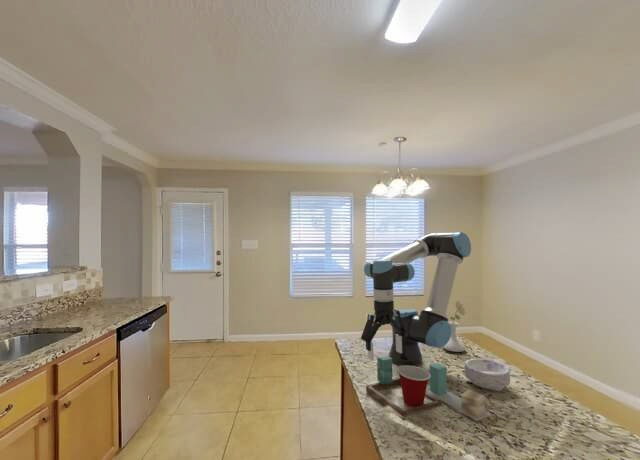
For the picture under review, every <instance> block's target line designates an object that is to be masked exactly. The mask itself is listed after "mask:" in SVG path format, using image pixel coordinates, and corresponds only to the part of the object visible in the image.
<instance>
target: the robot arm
mask: <svg viewBox="0 0 640 460" xmlns="http://www.w3.org/2000/svg"><path fill="white" fill-rule="evenodd" d="M471 252H472V244H471V240H470V238H469V236H468V235H467V234H466V233H465V232H462V231H460V232H459V231H453V232H452V231H450V232H433V233H428V234H425V235H424V236H422V237H418V239H415V240H414V241H412V243H411V244H409V245H407V246H405V247H403V248H401V249H398V250H397V251H395V252H393V253H391V254H388V255H387V256H385V257H383V258H380V259H375V260H370V261H367V262H366V263H365V264H364V267H363V271H364V275H365V276H366V277H367V278H370V279H373V280H372V282H373V283H372V284H373V299H374V300H373V309H374V313H373V314H371V313H367V320H366V323H365V326H364V328H363V331H362V334H361V335H360V336H361V337H360V340H362V341H364V342H365V350H366V351H367V359H369V360H370V361H375V359H374V357H375V356H374V354H375V353H374V341H373V339H374V338H375V335H376V334H377V332H378V330H379V329H380V328H381V327H382V326H385V325H390V326H391V328H392V333H391V334H392V344H391V345H390V346H391V347H390V349H389V353H388V357H390V358H392V363H393V364H395V365H396V364H397V365H399V366H404V365H410V366H418V365H422V364H423V355H422V353H421V349H420V346H419V345H420V344H423V345H426V346H428V347H432V348H437V349H440V348H443V346H445V345H446V344H447V343H448V341H449V340H450V337H451V332H452V331H451V325H450V324H449V323H448V322H449V318H448V316H447V311H448V306H449V303H450V298H451V294H452V290H453V286H454V282H455V278H456V274H457V270H458V266H459V265H461V264H463V261H464V258H468V257H470V255H471ZM430 256H434V257H436V258H437V259H438V261H437V265H436V268H435V272H434V276H433V280H432V282H431V283H432V284H431V287H430V291H429V296H428V299H427V301H426V306H425V308H423V309H421V310H420V314H419V312H418V310H417V309H409V308H407V309H395V303H394V284H396V283H401V282H402V283H403V282H404V283H405V282H409V281H411V280H413V278H414V277H415V272H416V271H415V268H414V266H413V265H412V262H414V261H416V260H418V259H423V258H426V257H430ZM419 343H420V344H419Z"/></svg>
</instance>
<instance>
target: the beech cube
mask: <svg viewBox="0 0 640 460" xmlns="http://www.w3.org/2000/svg"><path fill="white" fill-rule="evenodd" d="M460 396H461V397H460V398H461V402H462V411H463V412H466V413H468V414H471V415H473V416H475V417H480V416H481V415H482V414H483V413H484V412H485V411H486V409H485V395H483V394H481V393H478V392H475V391H473V390H470V389H468V390H467V389H466V390H465V392H463V393H462V394H461V395H460ZM463 412H462V413H463Z"/></svg>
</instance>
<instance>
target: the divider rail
mask: <svg viewBox="0 0 640 460" xmlns="http://www.w3.org/2000/svg"><path fill="white" fill-rule="evenodd" d="M431 395H432V394H431ZM432 396H434V395H432ZM436 398H437V397H436ZM437 399H439V398H437ZM441 401H442V400H441ZM442 404H443V405H445V406H447V407H448V408H450V409H452V410H453V411H455V412H456V413H458V414H460V415H462V416H463V417H465V418H466V419H468V420H470V421H472V422H473V423H475V424H477V425H478V424H479V422H478V421H476V420H475V419H473V418H471V417H470V416H468V415H466V414H464V413H463V412H461V411H459V410H458V409H456V408H454V407H453V406H451V405H449V404H447V403H446V402H444V401H442Z"/></svg>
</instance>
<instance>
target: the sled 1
mask: <svg viewBox="0 0 640 460" xmlns="http://www.w3.org/2000/svg"><path fill="white" fill-rule="evenodd" d="M376 358H377V359H376V360H377V361H376V363H377V364H376V367H377V368H376V371H377V372H376V373H377V375H376V377H377V382H375V383H371V384H367V385H365V391H366V392H367V393H368V394H370V396H371V397H373V398H374V399H376V400H377V401H378V402H379V403H381V404H382V405H383V406H385V407H387V406H389V407H391V409H393V410H395V411H396V412H398V414H400V415H401V416H400V415H398V417H399V418H400V419H402V420H403V421H406V418H404V417H405V416H409V415H412V414H415V413H419V412H422V411H424V410H428V409H430V408H433V407H437V406H440V405H442V404H443V403H442V400H441V399H439V398H438V399H437V397H436V396H434V395H433V396H432V394H430V393H429V392H427V391H426V394H425V398H428V399H430V402H427V403H424V405H420V406H417V407H411V408H408V409H405V410H404V409H403V408H402V407H400V406H398V405H397V404H396V403H394V402H393V401H392V400H391V399H389V398H388V397H386V396H385V395H384V394H383V393H380V392H379V391H378V390H383V389H387V388H389V387H390V388H391V387H393V386H399V385H401V381H400V377H395V378H393V362H392V358H390V357H389V355H387V354H384V355H380V356H379V355H378V356H377V357H376Z"/></svg>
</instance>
